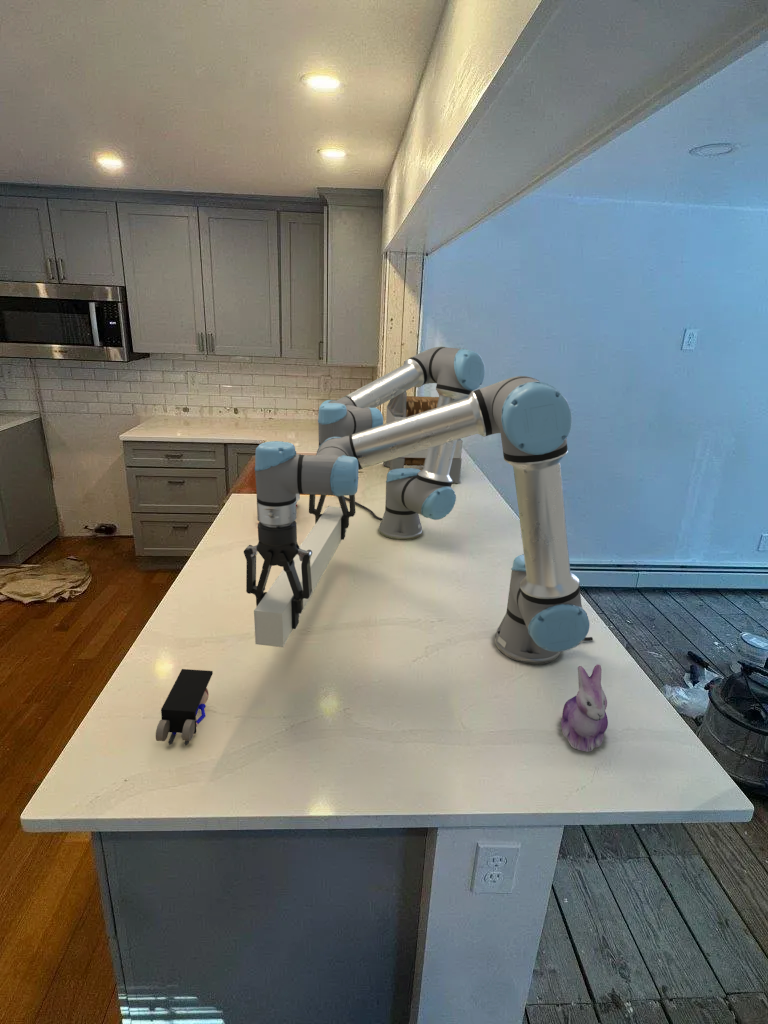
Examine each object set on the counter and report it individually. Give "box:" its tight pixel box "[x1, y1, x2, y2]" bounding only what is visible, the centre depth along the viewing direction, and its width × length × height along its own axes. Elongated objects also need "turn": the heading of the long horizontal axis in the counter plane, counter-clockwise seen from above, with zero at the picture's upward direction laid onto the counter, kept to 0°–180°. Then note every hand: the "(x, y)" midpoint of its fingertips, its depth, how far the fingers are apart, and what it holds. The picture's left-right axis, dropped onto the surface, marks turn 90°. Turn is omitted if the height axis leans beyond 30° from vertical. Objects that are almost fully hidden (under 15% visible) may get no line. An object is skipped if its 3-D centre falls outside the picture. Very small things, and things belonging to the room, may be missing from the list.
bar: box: [253, 505, 348, 648], centre depth 141 cm, size 64×6×8 cm, turn 172°
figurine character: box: [155, 668, 214, 746], centre depth 105 cm, size 7×8×15 cm
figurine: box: [560, 663, 609, 753], centre depth 105 cm, size 9×10×15 cm
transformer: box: [382, 391, 464, 484], centre depth 268 cm, size 34×33×41 cm
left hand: (332, 536), depth 165 cm, fingers closed on bar, 6 cm apart
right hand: (280, 623), depth 119 cm, fingers closed on bar, 6 cm apart
